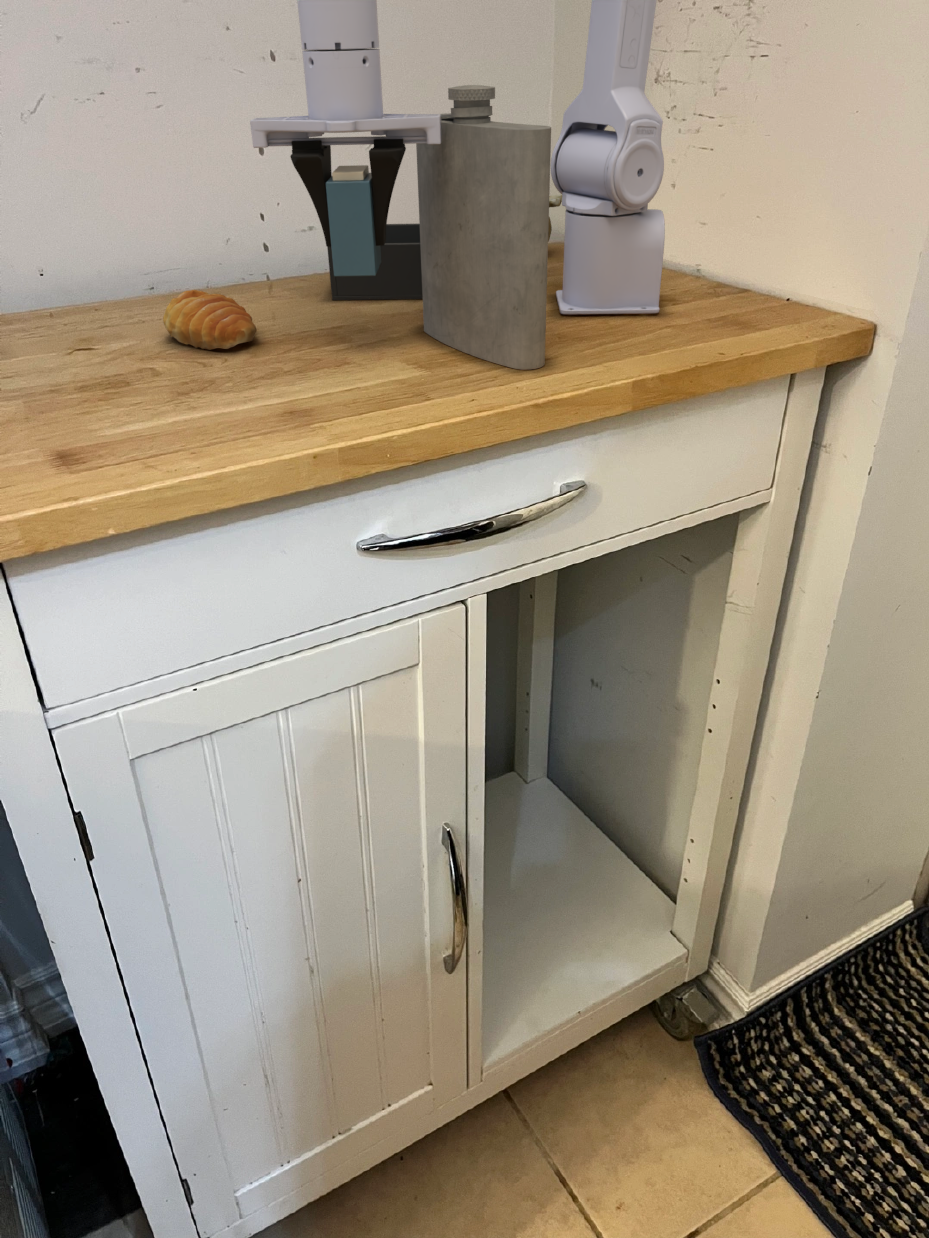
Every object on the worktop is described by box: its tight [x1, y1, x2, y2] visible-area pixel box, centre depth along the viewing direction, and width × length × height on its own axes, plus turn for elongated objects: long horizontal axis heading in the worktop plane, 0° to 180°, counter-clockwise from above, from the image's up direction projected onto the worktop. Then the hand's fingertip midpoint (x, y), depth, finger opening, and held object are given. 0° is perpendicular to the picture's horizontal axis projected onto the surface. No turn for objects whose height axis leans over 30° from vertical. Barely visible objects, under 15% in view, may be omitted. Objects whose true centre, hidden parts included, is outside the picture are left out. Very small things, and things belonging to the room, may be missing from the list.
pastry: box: [162, 289, 258, 351], centre depth 84 cm, size 9×7×4 cm
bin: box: [326, 223, 423, 301], centre depth 100 cm, size 14×11×5 cm
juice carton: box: [326, 164, 381, 276], centre depth 76 cm, size 3×5×8 cm
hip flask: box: [415, 84, 552, 371], centre depth 77 cm, size 16×4×20 cm, turn 35°
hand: (356, 244), depth 77 cm, fingers closed on juice carton, 3 cm apart
